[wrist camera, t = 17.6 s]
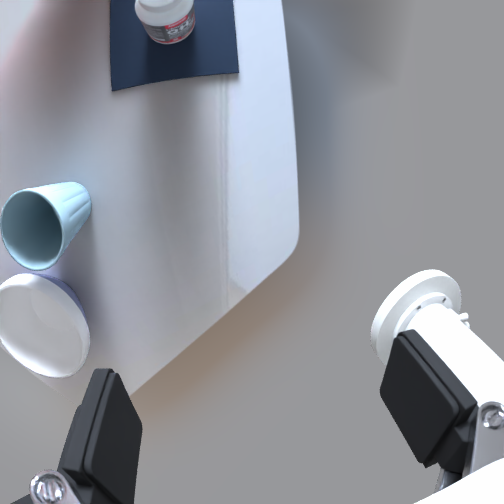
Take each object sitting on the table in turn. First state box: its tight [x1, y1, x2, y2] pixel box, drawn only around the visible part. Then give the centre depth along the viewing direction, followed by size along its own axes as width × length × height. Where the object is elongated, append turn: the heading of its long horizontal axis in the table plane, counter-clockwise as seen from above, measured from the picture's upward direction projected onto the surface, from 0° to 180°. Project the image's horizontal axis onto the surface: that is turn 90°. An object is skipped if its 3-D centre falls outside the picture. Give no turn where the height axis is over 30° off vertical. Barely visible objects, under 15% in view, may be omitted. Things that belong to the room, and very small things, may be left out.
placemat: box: [110, 0, 239, 91], centre depth 25 cm, size 14×14×1 cm
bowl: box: [0, 273, 90, 378], centre depth 32 cm, size 14×14×8 cm
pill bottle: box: [135, 0, 195, 44], centre depth 21 cm, size 5×5×10 cm
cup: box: [0, 182, 91, 271], centre depth 27 cm, size 8×8×10 cm
